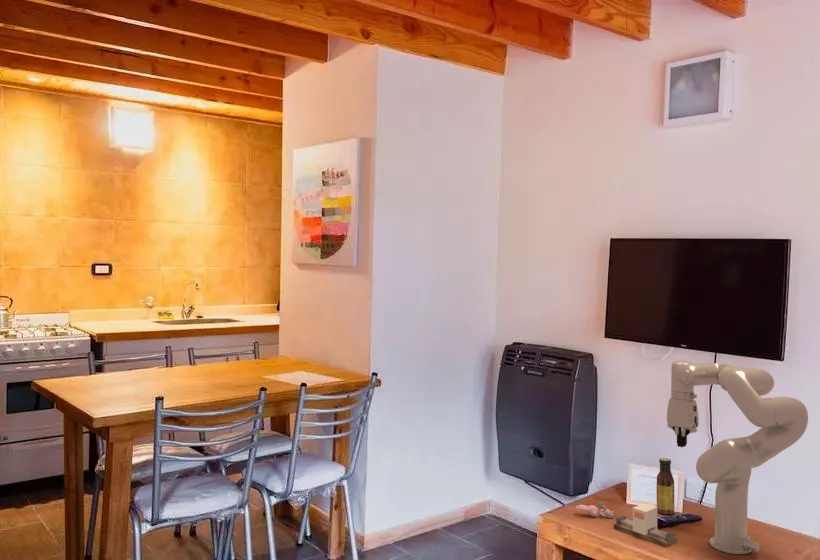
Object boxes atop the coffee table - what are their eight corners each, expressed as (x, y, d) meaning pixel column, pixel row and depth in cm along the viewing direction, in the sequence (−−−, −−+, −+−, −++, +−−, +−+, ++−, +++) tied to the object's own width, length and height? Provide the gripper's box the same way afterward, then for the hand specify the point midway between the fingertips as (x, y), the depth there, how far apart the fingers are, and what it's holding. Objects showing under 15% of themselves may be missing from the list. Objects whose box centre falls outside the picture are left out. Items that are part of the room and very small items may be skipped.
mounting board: (677, 541, 226) (677, 537, 226) (665, 547, 222) (666, 542, 222) (625, 523, 242) (625, 519, 242) (613, 528, 237) (613, 524, 237)
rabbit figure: (614, 518, 250) (573, 509, 253) (617, 502, 250) (576, 493, 252) (617, 524, 244) (575, 515, 247) (620, 508, 244) (578, 499, 246)
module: (657, 530, 232) (657, 507, 232) (645, 535, 227) (645, 512, 227) (644, 525, 236) (644, 503, 236) (632, 530, 231) (632, 507, 231)
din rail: (674, 538, 225) (674, 532, 225) (668, 541, 223) (668, 536, 223) (623, 520, 241) (623, 515, 241) (616, 523, 238) (616, 518, 238)
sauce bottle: (676, 515, 249) (677, 462, 249) (659, 515, 249) (660, 462, 249) (670, 509, 256) (670, 456, 255) (653, 508, 256) (654, 456, 255)
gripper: (707, 397, 239) (707, 449, 240) (668, 391, 251) (668, 440, 252) (696, 400, 235) (696, 452, 235) (657, 393, 246) (657, 443, 247)
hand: (681, 446), depth 244 cm, fingers closed
